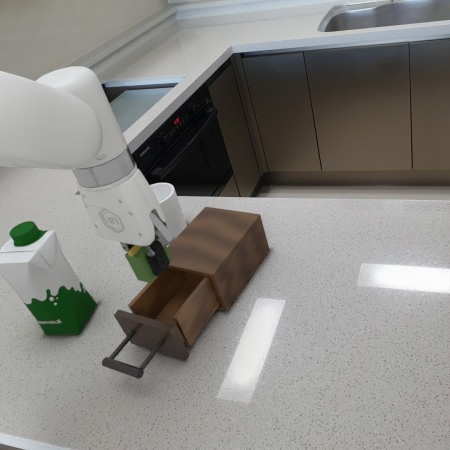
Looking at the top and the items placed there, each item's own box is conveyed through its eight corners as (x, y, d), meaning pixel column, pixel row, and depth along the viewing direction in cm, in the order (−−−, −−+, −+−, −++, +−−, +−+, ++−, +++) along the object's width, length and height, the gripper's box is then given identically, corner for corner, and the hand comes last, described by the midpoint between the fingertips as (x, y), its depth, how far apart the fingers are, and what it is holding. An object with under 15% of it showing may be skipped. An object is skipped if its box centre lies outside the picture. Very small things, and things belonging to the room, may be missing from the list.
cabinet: (227, 312, 80) (213, 274, 75) (170, 297, 85) (153, 261, 80) (270, 250, 91) (260, 214, 86) (217, 241, 97) (205, 206, 91)
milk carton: (104, 300, 88) (53, 217, 76) (81, 339, 81) (21, 254, 69) (63, 302, 89) (7, 221, 77) (37, 340, 82) (-29, 257, 70)
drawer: (159, 398, 67) (140, 368, 63) (103, 377, 72) (82, 348, 68) (234, 291, 83) (224, 261, 78) (184, 279, 87) (171, 251, 83)
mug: (196, 231, 101) (181, 192, 95) (159, 251, 97) (141, 212, 91) (175, 212, 108) (160, 175, 102) (140, 230, 105) (122, 192, 99)
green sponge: (172, 258, 73) (159, 229, 69) (150, 283, 69) (135, 254, 65) (160, 256, 74) (146, 227, 70) (137, 280, 70) (122, 251, 66)
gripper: (40, 176, 61) (99, 275, 72) (132, 188, 54) (181, 295, 65) (81, 147, 66) (131, 244, 77) (169, 155, 59) (210, 260, 70)
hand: (154, 267), depth 71 cm, fingers closed on green sponge, 2 cm apart
